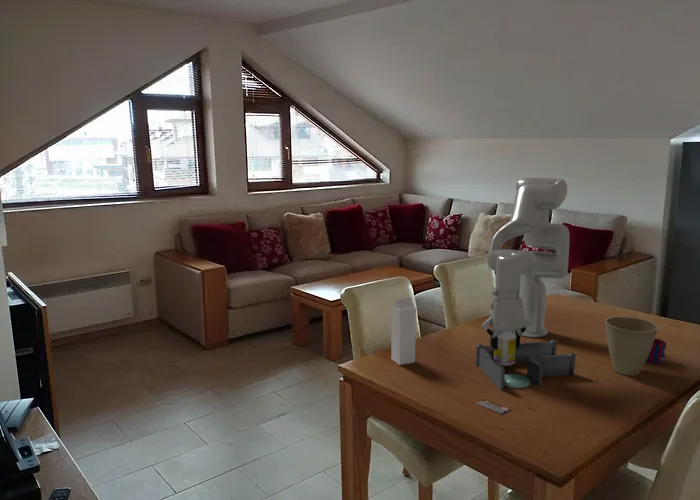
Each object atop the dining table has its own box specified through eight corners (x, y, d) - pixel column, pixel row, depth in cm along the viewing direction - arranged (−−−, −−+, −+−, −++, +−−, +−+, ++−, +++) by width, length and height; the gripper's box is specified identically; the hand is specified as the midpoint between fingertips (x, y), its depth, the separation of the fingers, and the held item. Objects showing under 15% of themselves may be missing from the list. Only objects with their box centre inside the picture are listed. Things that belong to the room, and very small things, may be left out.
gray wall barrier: (474, 363, 194) (475, 344, 193) (554, 358, 198) (555, 339, 197) (499, 390, 174) (500, 368, 173) (586, 383, 178) (588, 362, 177)
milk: (415, 362, 196) (416, 299, 191) (399, 365, 193) (400, 301, 189) (406, 356, 201) (407, 294, 197) (390, 358, 199) (391, 296, 194)
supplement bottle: (515, 359, 190) (517, 322, 187) (514, 367, 184) (516, 328, 181) (494, 357, 192) (496, 320, 190) (492, 364, 186) (494, 326, 183)
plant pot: (650, 384, 177) (655, 334, 174) (598, 374, 185) (601, 326, 182) (654, 367, 190) (659, 321, 187) (605, 358, 198) (609, 313, 194)
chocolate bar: (514, 412, 161) (514, 409, 161) (504, 417, 158) (504, 415, 158) (481, 399, 170) (481, 396, 169) (471, 404, 166) (471, 401, 166)
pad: (495, 377, 183) (495, 374, 183) (522, 375, 185) (522, 373, 185) (507, 389, 175) (507, 386, 175) (535, 387, 176) (535, 384, 176)
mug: (659, 366, 191) (661, 346, 190) (628, 357, 199) (630, 338, 197) (667, 361, 195) (669, 341, 194) (637, 352, 203) (639, 334, 202)
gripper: (485, 298, 179) (483, 353, 182) (538, 295, 181) (535, 349, 185) (476, 291, 186) (474, 344, 189) (528, 289, 188) (525, 341, 192)
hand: (504, 346), depth 187 cm, fingers closed on supplement bottle, 6 cm apart
